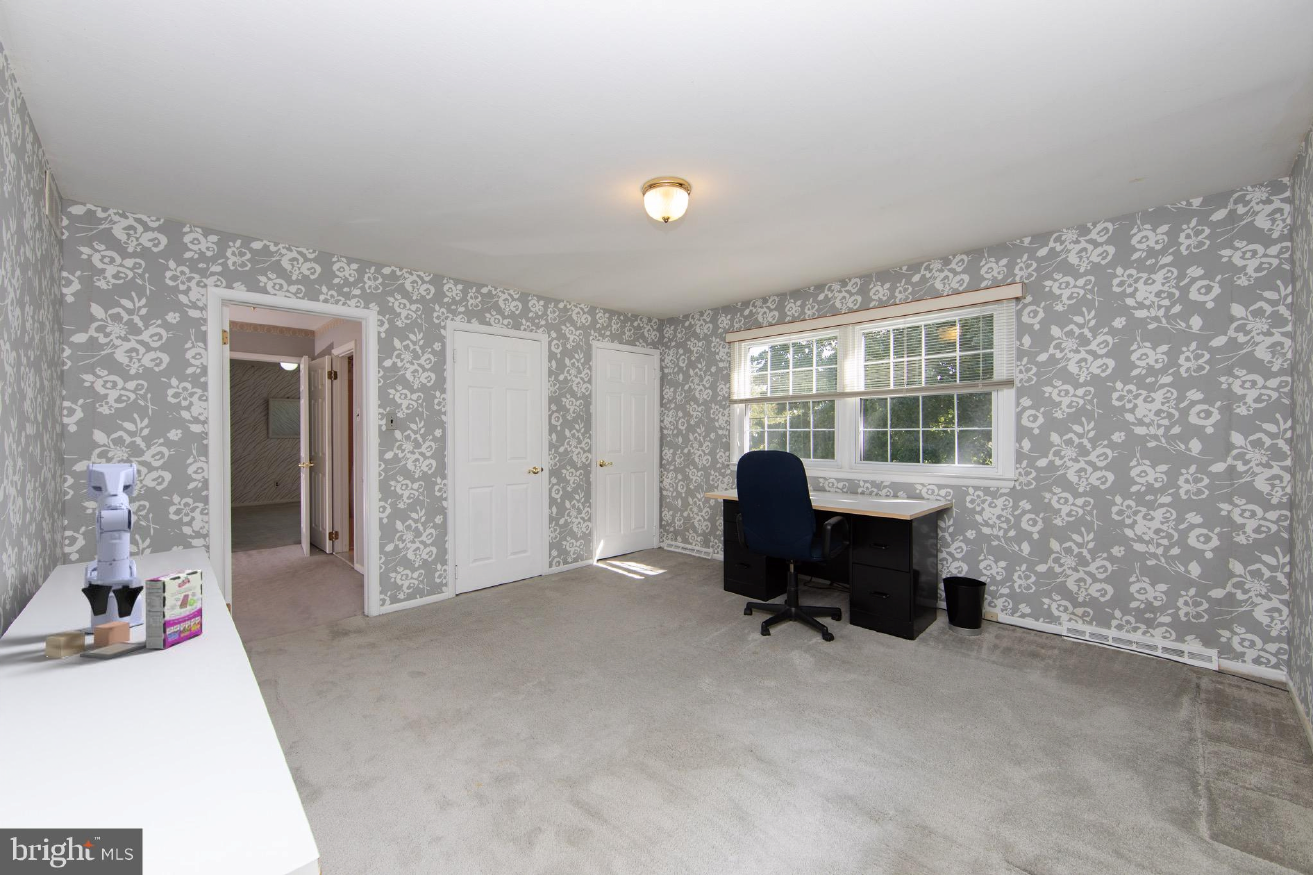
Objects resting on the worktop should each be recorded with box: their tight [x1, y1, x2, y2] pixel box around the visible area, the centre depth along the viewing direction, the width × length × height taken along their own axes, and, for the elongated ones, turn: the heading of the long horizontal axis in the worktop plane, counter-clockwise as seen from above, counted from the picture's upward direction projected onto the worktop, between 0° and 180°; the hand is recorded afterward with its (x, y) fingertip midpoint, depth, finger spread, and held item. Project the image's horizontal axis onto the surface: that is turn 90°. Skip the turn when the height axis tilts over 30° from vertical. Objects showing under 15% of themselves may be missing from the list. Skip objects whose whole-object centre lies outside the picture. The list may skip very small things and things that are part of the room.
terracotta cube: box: [93, 621, 131, 647], centre depth 138 cm, size 4×4×4 cm
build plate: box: [79, 642, 146, 660], centre depth 132 cm, size 8×8×1 cm
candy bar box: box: [145, 569, 203, 650], centre depth 139 cm, size 11×5×16 cm, turn 179°
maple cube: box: [45, 630, 86, 659], centre depth 131 cm, size 4×4×4 cm
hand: (112, 615), depth 138 cm, fingers open, 7 cm apart
